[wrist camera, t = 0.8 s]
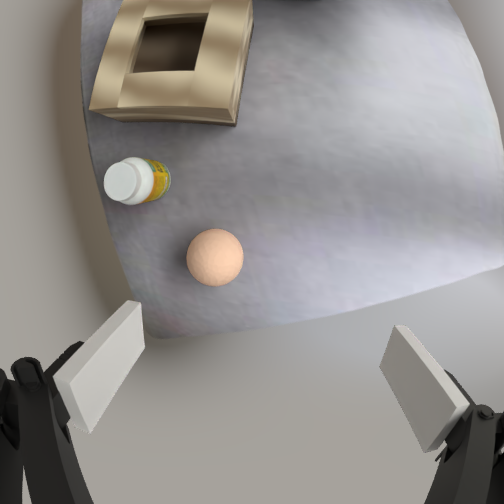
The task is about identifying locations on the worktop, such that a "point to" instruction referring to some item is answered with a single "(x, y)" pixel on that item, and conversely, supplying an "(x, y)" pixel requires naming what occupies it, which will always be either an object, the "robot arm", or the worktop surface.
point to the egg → (214, 257)
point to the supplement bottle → (137, 181)
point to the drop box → (175, 62)
